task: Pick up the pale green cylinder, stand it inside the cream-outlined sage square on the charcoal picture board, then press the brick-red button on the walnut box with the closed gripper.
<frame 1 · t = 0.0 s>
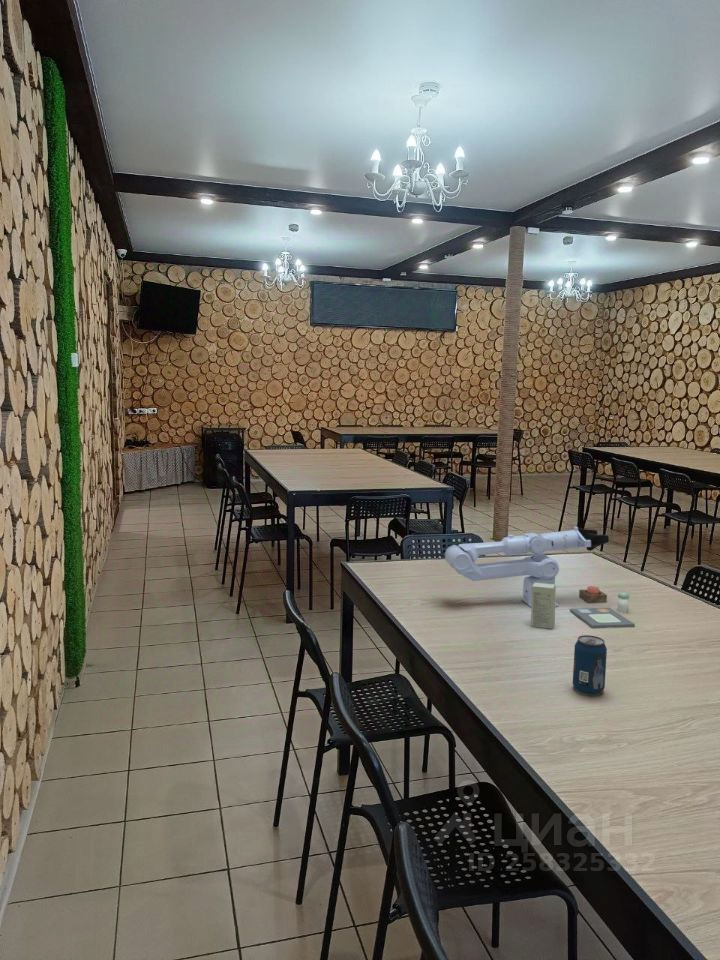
hand: (602, 536, 216), 22 cm above the table, tool horizontal, fingers open, 7 cm apart
button box: (592, 599, 220), on the table
soda can: (588, 690, 154), on the table
picture board: (601, 618, 202), on the table
skincare box: (542, 626, 196), on the table
pale green cylinder: (622, 611, 209), on the table
done button: (593, 592, 220), point 3 cm above the table, slide at 0.0 cm
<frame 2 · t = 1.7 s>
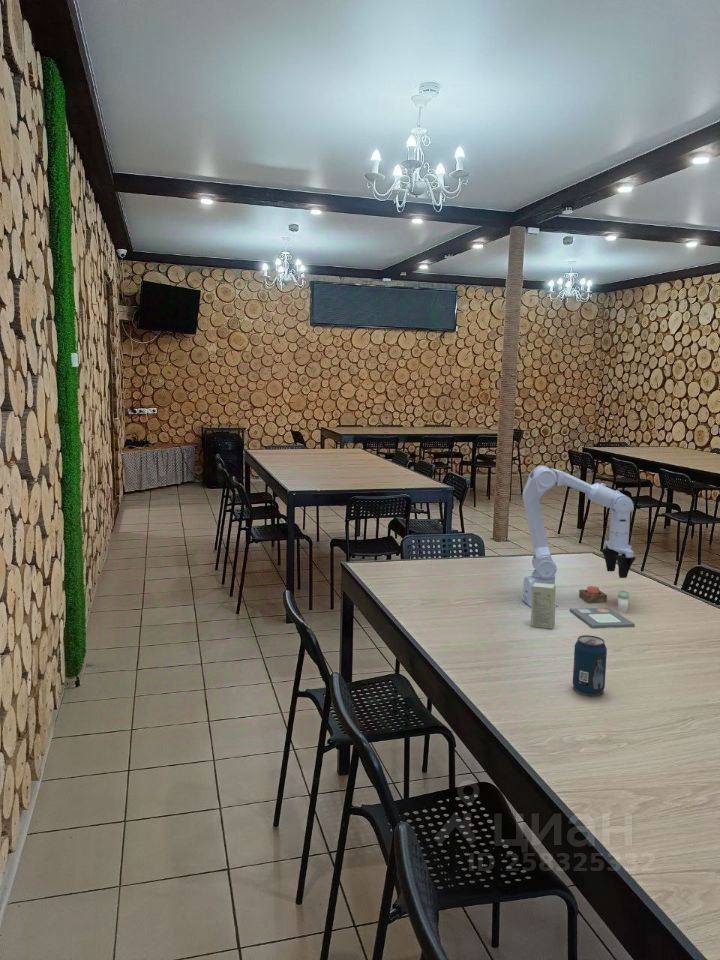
hand: (616, 574, 213), 10 cm above the table, tool pointing down, fingers open, 7 cm apart
nothing on the table moved.
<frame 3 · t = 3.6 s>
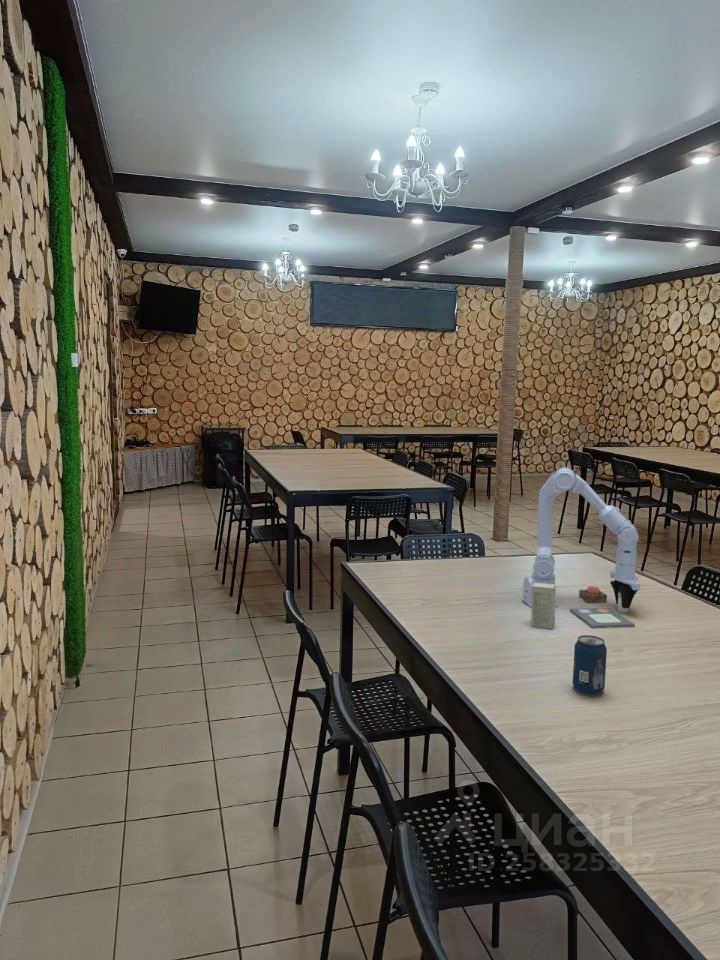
hand: (622, 606, 209), 2 cm above the table, tool pointing down, fingers closed on pale green cylinder, 3 cm apart
pale green cylinder: (622, 611, 209), on the table, touching gripper
everything else where it was.
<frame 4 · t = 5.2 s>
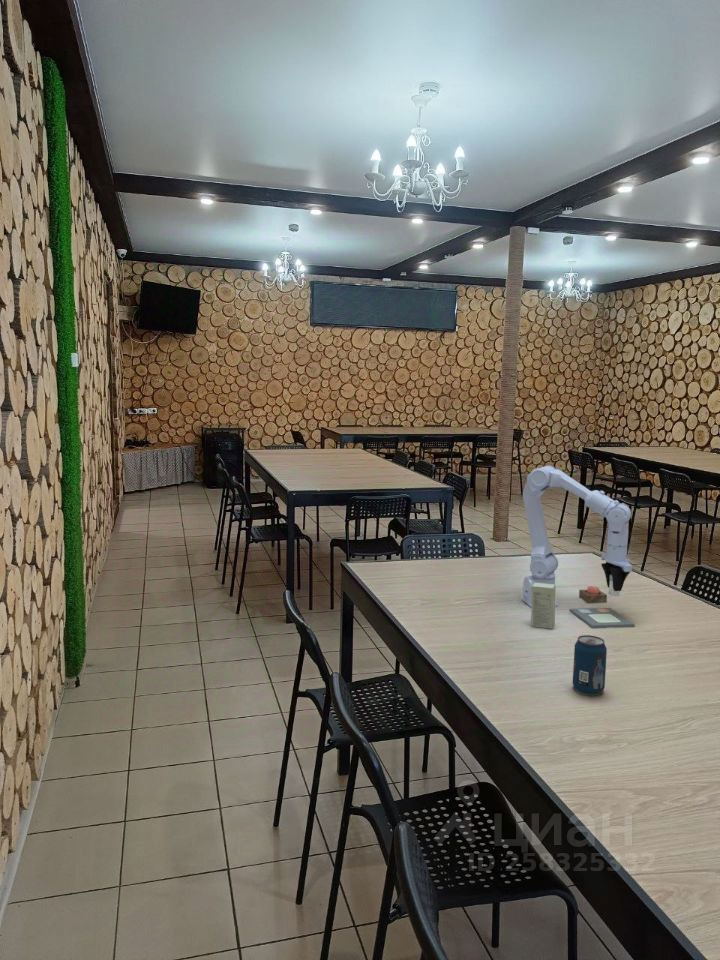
hand: (614, 588, 203), 9 cm above the table, tool pointing down, fingers closed on pale green cylinder, 3 cm apart
pale green cylinder: (614, 594, 203), point 7 cm above the table, touching gripper
everything else where it was.
when the fingers open (4 cm above the table, at t = 7.1 s): pale green cylinder stays where it is, resting on picture board.
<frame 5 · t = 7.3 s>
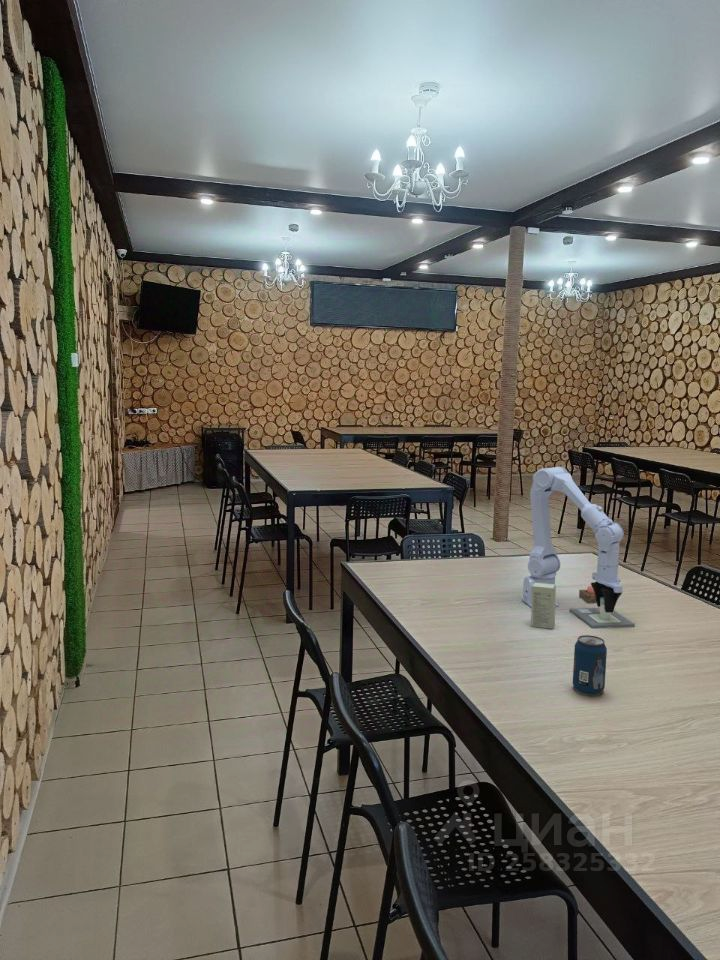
hand: (605, 609, 199), 4 cm above the table, tool pointing down, fingers open, 4 cm apart
pale green cylinder: (604, 617, 200), point 1 cm above the table, touching picture board
everything else where it was.
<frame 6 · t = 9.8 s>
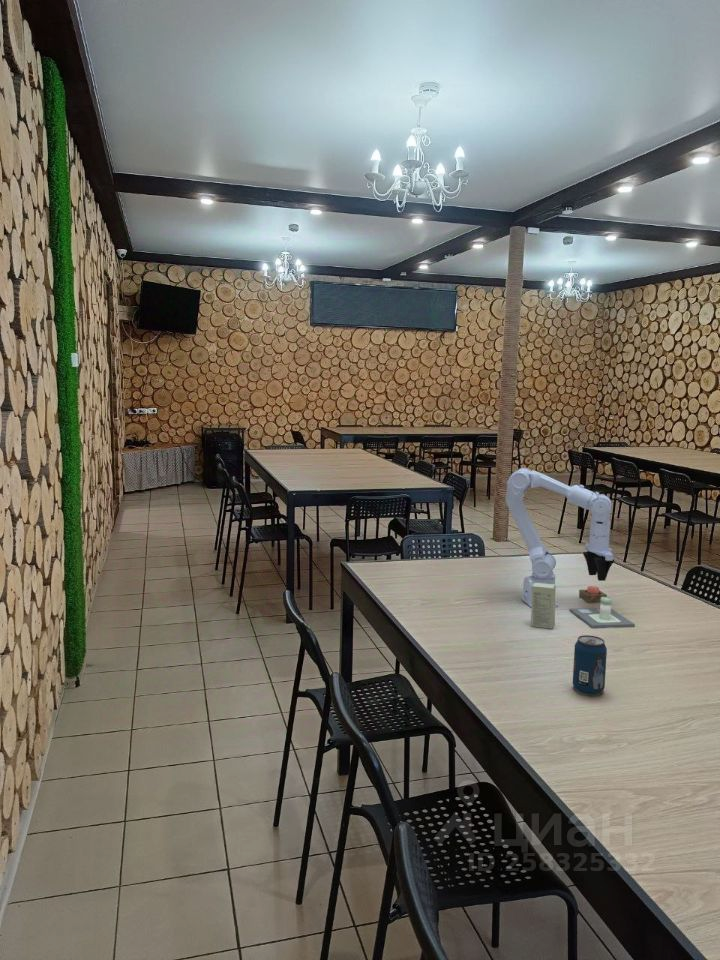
hand: (597, 577, 209), 10 cm above the table, tool pointing down, fingers open, 5 cm apart
nothing on the table moved.
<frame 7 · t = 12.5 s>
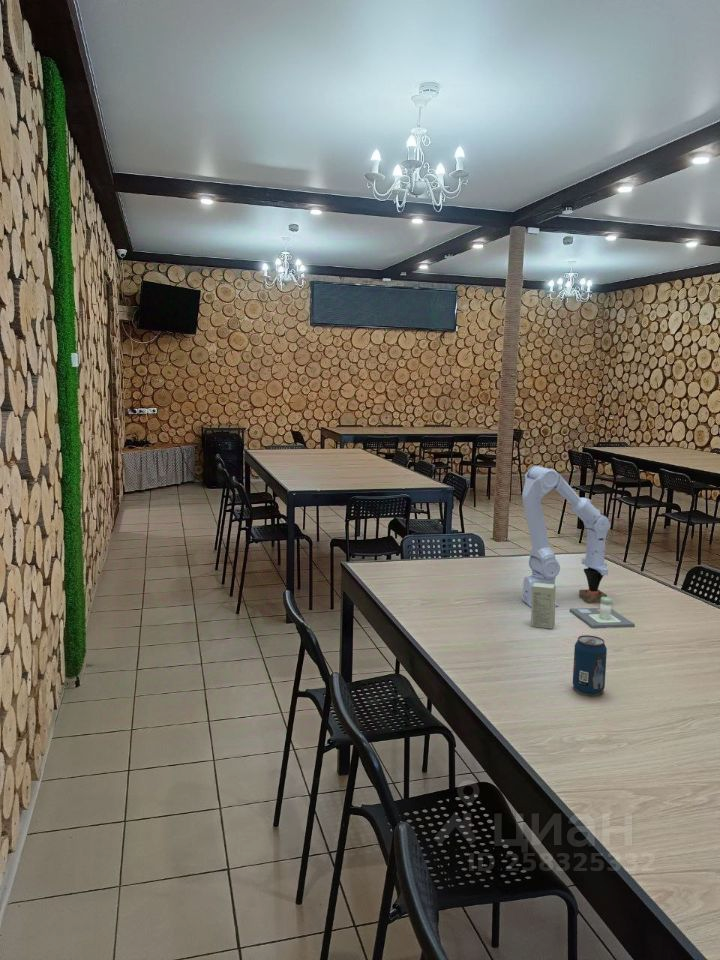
hand: (593, 590, 220), 3 cm above the table, tool pointing down, fingers closed, pressing on done button
done button: (592, 595, 220), point 2 cm above the table, slide at -1.0 cm, touching gripper
everything else where it was.
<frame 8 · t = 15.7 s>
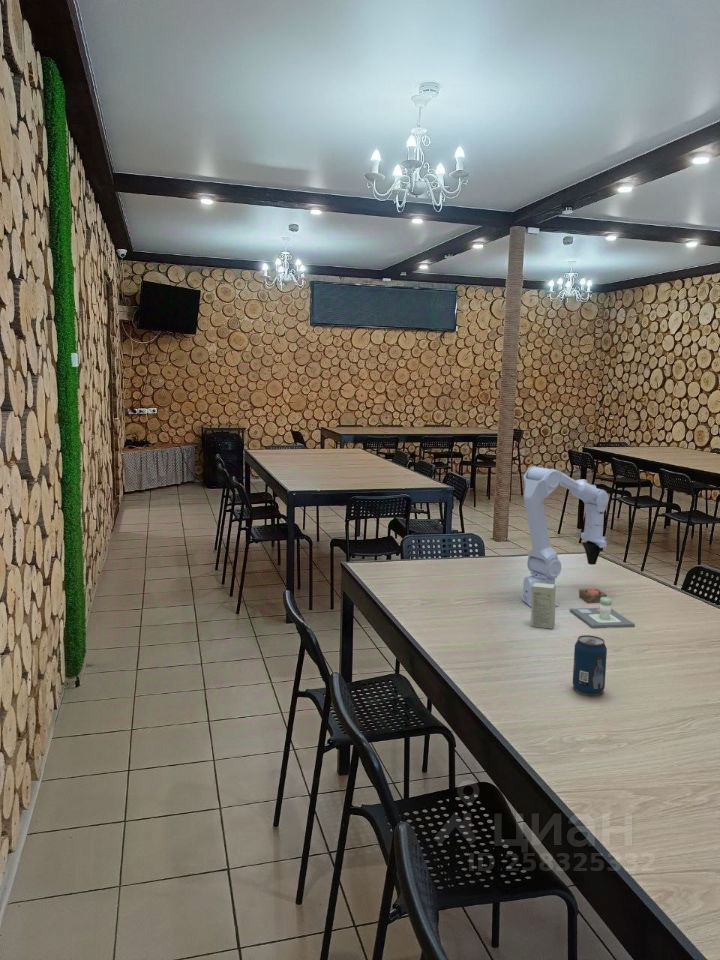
hand: (591, 564, 225), 10 cm above the table, tool pointing down, fingers closed
done button: (592, 595, 220), point 2 cm above the table, slide at -1.0 cm
everything else where it was.
at the end: pale green cylinder 0.1 cm from the target spot on the picture board, point 1.0 cm above the picture board's base; pale green cylinder tilted 3°; done button slide at -1.0 cm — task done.
